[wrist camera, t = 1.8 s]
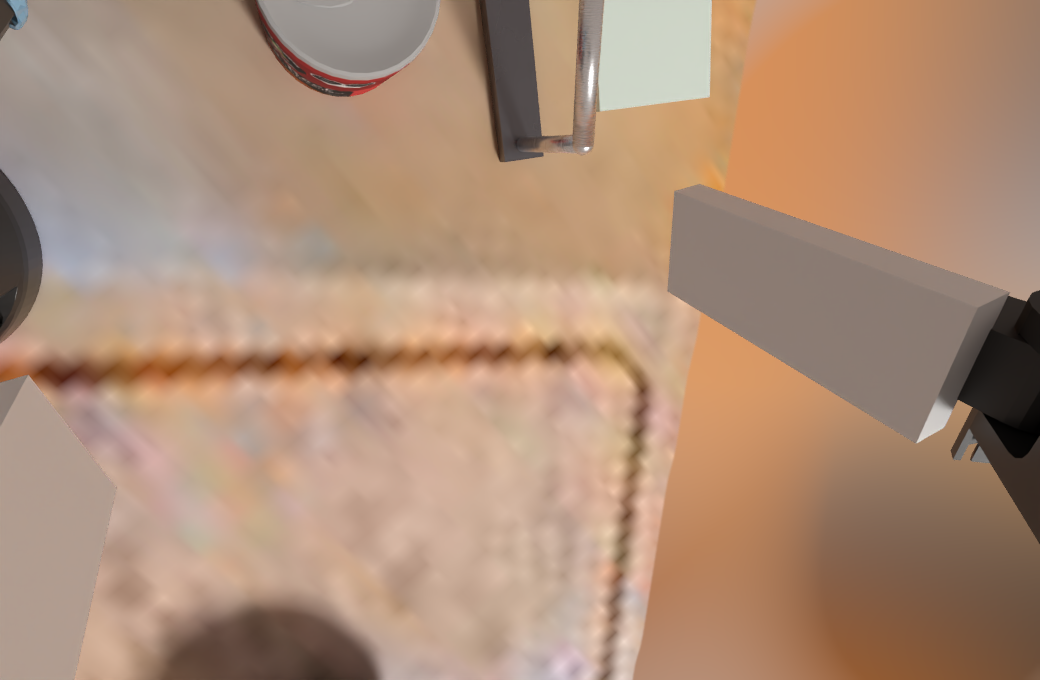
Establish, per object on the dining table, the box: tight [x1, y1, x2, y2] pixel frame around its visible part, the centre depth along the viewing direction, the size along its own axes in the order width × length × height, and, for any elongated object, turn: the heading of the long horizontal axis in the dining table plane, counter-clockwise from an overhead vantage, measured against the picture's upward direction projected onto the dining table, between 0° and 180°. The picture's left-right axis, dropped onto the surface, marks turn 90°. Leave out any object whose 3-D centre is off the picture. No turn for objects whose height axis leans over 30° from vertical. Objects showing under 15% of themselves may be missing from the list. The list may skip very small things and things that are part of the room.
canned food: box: [255, 0, 440, 96], centre depth 27 cm, size 8×8×11 cm
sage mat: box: [596, 0, 712, 112], centre depth 39 cm, size 10×10×1 cm
